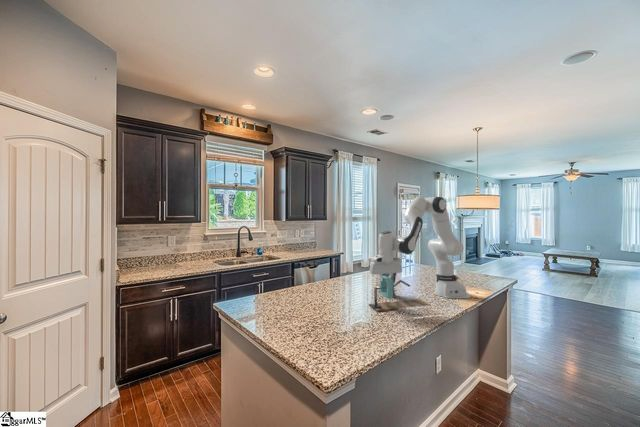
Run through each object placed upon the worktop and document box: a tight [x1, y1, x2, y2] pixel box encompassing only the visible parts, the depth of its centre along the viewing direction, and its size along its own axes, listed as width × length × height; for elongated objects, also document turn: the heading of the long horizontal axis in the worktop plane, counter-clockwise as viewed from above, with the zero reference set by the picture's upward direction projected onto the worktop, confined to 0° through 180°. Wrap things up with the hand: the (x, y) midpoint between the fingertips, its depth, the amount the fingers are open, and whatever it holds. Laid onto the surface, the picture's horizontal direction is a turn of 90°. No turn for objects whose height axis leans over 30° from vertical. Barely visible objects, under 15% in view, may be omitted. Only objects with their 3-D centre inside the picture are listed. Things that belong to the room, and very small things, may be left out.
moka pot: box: [383, 273, 397, 298], centre depth 192 cm, size 10×15×20 cm, turn 132°
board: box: [368, 298, 431, 313], centre depth 172 cm, size 36×12×1 cm, turn 104°
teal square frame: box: [379, 276, 394, 300], centre depth 170 cm, size 3×11×11 cm, turn 14°
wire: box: [369, 279, 411, 309], centre depth 171 cm, size 26×5×15 cm, turn 104°
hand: (386, 280), depth 170 cm, fingers closed on teal square frame, 3 cm apart
